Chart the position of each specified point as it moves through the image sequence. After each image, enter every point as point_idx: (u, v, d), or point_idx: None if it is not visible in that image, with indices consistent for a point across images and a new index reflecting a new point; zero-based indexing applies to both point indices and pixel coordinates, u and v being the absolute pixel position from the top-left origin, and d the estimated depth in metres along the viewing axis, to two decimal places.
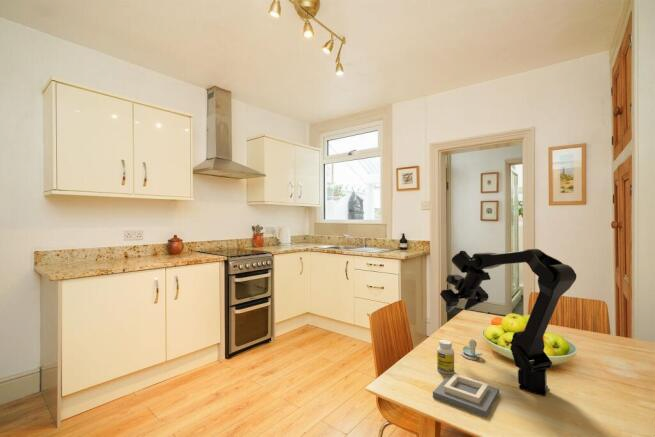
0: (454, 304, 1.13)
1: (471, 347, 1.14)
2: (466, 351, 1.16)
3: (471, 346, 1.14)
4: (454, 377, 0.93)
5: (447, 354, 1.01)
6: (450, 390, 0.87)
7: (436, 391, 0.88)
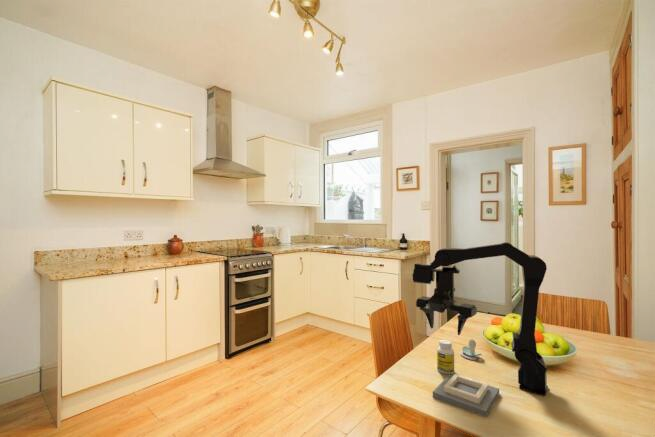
0: None
1: (470, 347, 1.14)
2: (465, 351, 1.15)
3: (470, 346, 1.14)
4: (454, 377, 0.93)
5: (447, 354, 1.01)
6: (450, 390, 0.87)
7: (436, 391, 0.88)
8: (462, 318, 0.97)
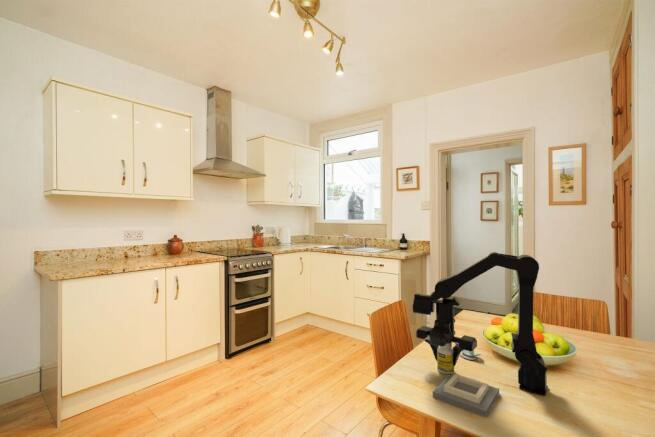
0: None
1: None
2: (465, 351, 1.15)
3: None
4: (454, 377, 0.93)
5: (447, 354, 1.01)
6: (450, 390, 0.87)
7: (436, 391, 0.88)
8: (457, 350, 0.98)
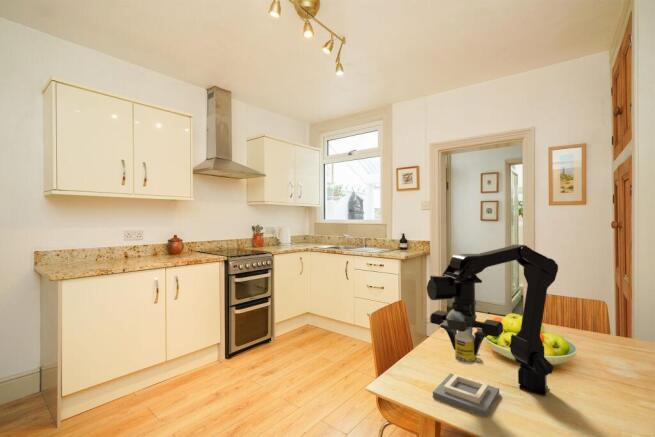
0: None
1: None
2: None
3: None
4: (454, 377, 0.93)
5: (467, 342, 0.86)
6: (450, 390, 0.87)
7: (436, 391, 0.88)
8: (480, 336, 0.84)
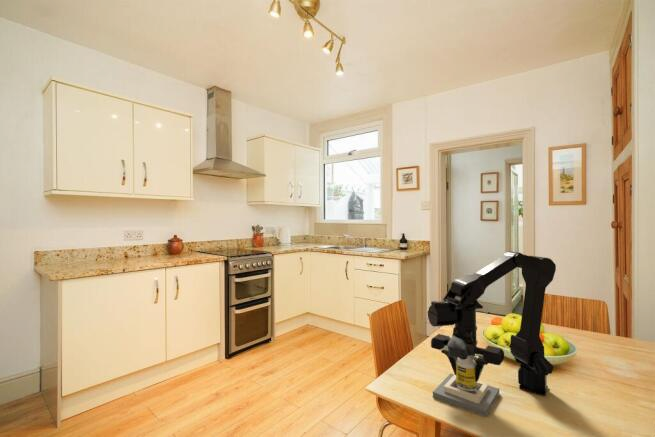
0: None
1: None
2: None
3: None
4: (454, 377, 0.93)
5: (468, 368, 0.86)
6: (450, 390, 0.87)
7: (436, 391, 0.88)
8: (481, 363, 0.83)
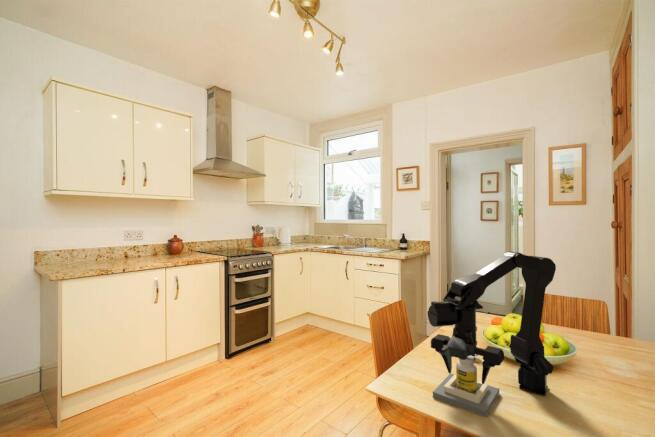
0: None
1: None
2: None
3: None
4: (454, 377, 0.93)
5: (469, 372, 0.86)
6: (450, 390, 0.87)
7: (436, 391, 0.88)
8: (488, 366, 0.82)
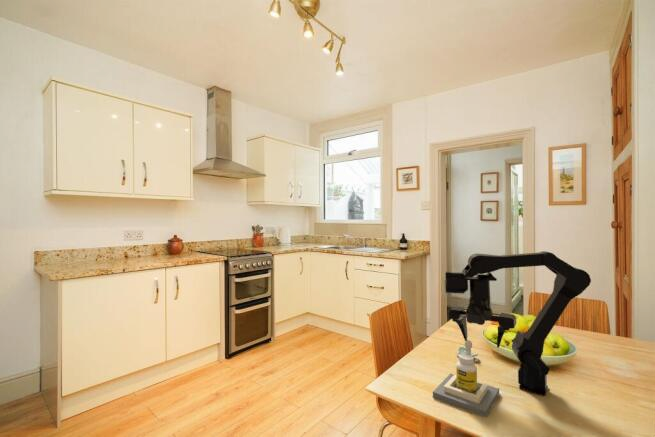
0: None
1: (467, 348, 1.14)
2: (462, 352, 1.15)
3: (467, 347, 1.14)
4: (454, 377, 0.93)
5: (469, 372, 0.86)
6: (450, 390, 0.87)
7: (436, 391, 0.88)
8: (503, 329, 0.90)
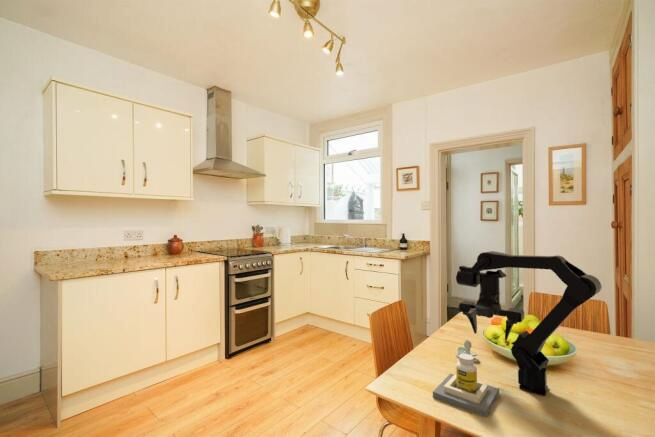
0: None
1: (466, 348, 1.14)
2: (461, 352, 1.15)
3: (466, 347, 1.14)
4: (454, 377, 0.93)
5: (469, 372, 0.86)
6: (450, 390, 0.87)
7: (436, 391, 0.88)
8: (511, 323, 0.95)
